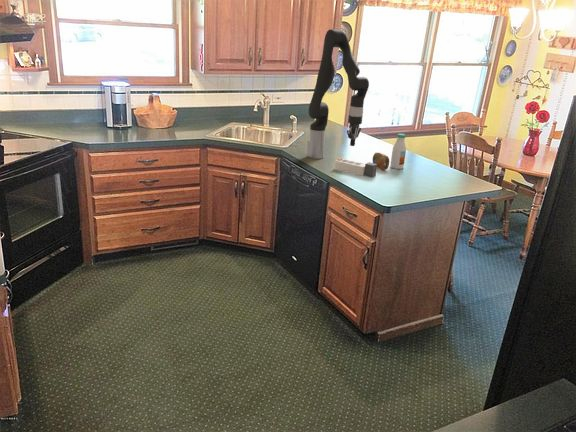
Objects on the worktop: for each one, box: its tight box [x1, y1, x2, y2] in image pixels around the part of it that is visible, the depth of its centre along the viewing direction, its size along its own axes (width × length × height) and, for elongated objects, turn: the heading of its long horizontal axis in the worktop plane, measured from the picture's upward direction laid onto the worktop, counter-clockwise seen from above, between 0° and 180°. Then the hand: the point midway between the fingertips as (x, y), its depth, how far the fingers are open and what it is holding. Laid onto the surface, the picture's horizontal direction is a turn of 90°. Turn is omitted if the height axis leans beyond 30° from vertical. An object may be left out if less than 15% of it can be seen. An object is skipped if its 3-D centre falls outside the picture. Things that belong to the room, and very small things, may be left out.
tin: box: [372, 152, 390, 171], centre depth 291 cm, size 15×3×8 cm, turn 21°
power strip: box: [334, 157, 366, 177], centre depth 282 cm, size 18×7×6 cm, turn 55°
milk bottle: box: [389, 133, 407, 170], centre depth 292 cm, size 8×8×20 cm
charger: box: [363, 162, 378, 178], centre depth 276 cm, size 8×4×6 cm, turn 55°
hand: (352, 145), depth 278 cm, fingers closed
